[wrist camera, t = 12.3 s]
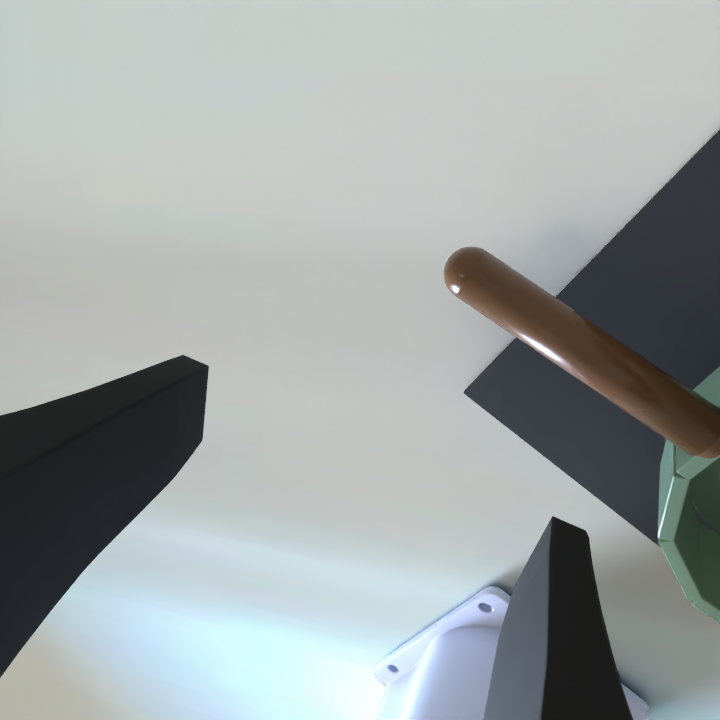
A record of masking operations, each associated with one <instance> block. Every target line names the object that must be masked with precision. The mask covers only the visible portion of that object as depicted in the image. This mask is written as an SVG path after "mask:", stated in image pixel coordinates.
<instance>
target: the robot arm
mask: <svg viewBox="0 0 720 720" xmlns="http://www.w3.org/2000/svg"><path fill="white" fill-rule="evenodd" d="M208 369H209V366H207V365H205V364H203V363H200V362H198V361H196V360H193V359H191V358H189V357H187V356H184V355H182V356H179V357H176V358H173V359H170V360H167V361H164V362H162V363H159V364H156V365H154V366H151V367H148V368H146V369H143V370H140V371H138V372H135V373H132V374H130V375H127V376H124V377H121V378H119V379H116V380H113V381H110V382H108V383H105V384H102V385H99V386H96V387H94V388H91V389H88V390H85V391H82V392H79V393H76V394H73V395H70V396H66V397H63V398H60V399H57V400H54V401H50V402H47V403H44V404H41V405H38V406H35V407H31V408H28V409H24V410H20V411H17V412H13V413H9V414H5V415H1V416H0V677H1V676H2V675H3V673H4V672H5V671H6V669H7V668H8V666H9V665H10V664H11V662H12V661H13V660H14V658H15V657H16V655H17V654H18V653H19V651H20V650H21V649H22V647H23V646H24V645H25V644H26V642H27V641H28V640H29V638H30V637H31V636H32V635H33V633H34V632H35V631H36V629H37V628H38V627H39V625H40V624H41V623H42V622H43V620H44V619H45V618H46V616H47V615H48V614H49V612H50V611H51V610H52V609H53V607H54V606H55V605H56V604H57V603H58V601H59V600H60V599H61V598H62V596H63V595H64V594H65V593H66V591H67V590H68V589H69V588H70V587H71V585H72V584H73V583H74V582H75V580H76V579H77V578H78V577H79V575H80V574H81V573H82V572H83V571H84V570H85V569H86V567H87V566H88V565H89V564H90V563H91V562H92V561H93V560H94V559H95V558H96V556H97V555H98V554H99V553H100V552H101V551H102V550H103V549H104V548H105V547H106V546H107V545H108V544H109V543H110V542H111V541H112V540H113V539H114V538H115V537H116V536H117V535H118V534H119V533H120V532H121V531H122V530H123V529H124V528H125V527H126V526H127V525H128V524H129V523H130V522H131V521H132V520H133V519H134V518H135V517H136V516H137V515H138V514H139V513H140V512H141V511H142V510H143V509H144V508H145V507H146V506H147V505H148V504H149V503H150V502H151V501H152V500H153V499H154V498H155V497H156V496H157V495H158V494H159V493H160V492H161V491H162V490H163V489H164V488H165V487H166V486H167V485H168V484H169V483H170V481H171V480H172V479H173V478H174V477H175V476H176V475H177V473H178V472H179V471H180V469H181V468H182V467H183V466H184V464H185V463H186V462H187V460H188V459H189V458H190V456H191V455H192V454H193V452H194V451H195V450H196V448H197V447H198V445H199V444H200V443H201V441H202V438H203V427H204V415H205V403H206V392H207V380H208ZM485 603H487V604H485ZM488 604H489V605H488ZM373 674H374V676H375V678H376V679H377V680H379V681H380V682H381V683H383V684H384V685H385V686H386V687H387V689H386V691H385V694H384V696H383V699H382V701H381V704H380V706H379V709H378V711H377V714H376V716H375V719H374V720H647V719H648V718H649V706H648V704H647V703H646V702H645V701H644V700H642V699H641V698H640V697H638V696H637V695H636V694H635V693H633V692H632V691H631V690H630V689H628V688H627V687H626V686H624V685H623V684H622V683H621V681H620V677H619V674H618V671H617V668H616V664H615V661H614V657H613V653H612V650H611V646H610V642H609V638H608V634H607V630H606V626H605V622H604V618H603V614H602V610H601V605H600V601H599V596H598V591H597V586H596V581H595V575H594V570H593V564H592V557H591V550H590V543H589V537H588V535H587V532H586V531H585V530H583V529H581V528H578V527H576V526H574V525H571V524H569V523H567V522H565V521H562V520H560V519H558V518H555V517H553V516H552V518H551V520H550V522H549V524H548V526H547V527H546V529H545V531H544V533H543V535H542V536H541V538H540V540H539V542H538V544H537V546H536V547H535V549H534V551H533V553H532V555H531V556H530V558H529V560H528V562H527V564H526V566H525V567H524V569H523V571H522V573H521V575H520V576H519V578H518V580H517V582H516V584H515V586H514V589H513V592H512V595H511V596H510V595H508V594H507V593H506V592H505V591H503V590H502V589H500V588H498V587H495V586H489V587H486V588H484V589H483V590H482V591H480V592H479V593H477V594H476V595H474V596H473V597H471V598H470V599H469V600H467V601H466V602H464V603H463V604H461V605H460V606H458V607H457V608H456V609H454V610H453V611H451V612H450V613H448V614H447V615H445V616H444V617H443V618H441V619H440V620H438V621H437V622H435V623H434V624H432V625H431V626H430V627H428V628H427V629H425V630H424V631H422V632H421V633H419V634H418V635H417V636H415V637H414V638H412V639H411V640H409V641H408V642H406V643H405V644H404V645H402V646H401V647H399V648H398V649H396V650H395V651H393V652H392V653H391V654H389V655H388V656H386V657H385V658H383V659H382V660H380V661H379V662H378V663H376V665H375V666H374V669H373Z"/></svg>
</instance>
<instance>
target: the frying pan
mask: <svg viewBox="0 0 720 720" xmlns="http://www.w3.org/2000/svg"><path fill="white" fill-rule="evenodd" d="M444 280H445V283H446V285H447V287H448V289H449V290H450V291H451V292H452V293H453V294H454V295H455V296H456V297H458V298H459V299H461V300H462V301H464V302H465V303H467V304H468V305H470V306H471V307H473V308H474V309H475V310H477V311H478V312H480V313H481V314H483V315H484V316H486V317H487V318H489V319H490V320H492V321H493V322H495V323H496V324H498V325H499V326H501V327H502V328H503V329H505V330H506V331H508V332H509V333H511V334H512V335H514V336H515V337H517V338H518V339H520V340H521V341H523V342H524V343H526V344H527V345H529V346H530V347H531V348H533V349H534V350H536V351H537V352H539V353H540V354H542V355H543V356H545V357H546V358H548V359H549V360H551V361H552V362H554V363H555V364H556V365H558V366H559V367H561V368H562V369H564V370H565V371H567V372H568V373H570V374H571V375H573V376H574V377H576V378H577V379H579V380H580V381H582V382H583V383H584V384H586V385H587V386H589V387H590V388H592V389H593V390H595V391H596V392H598V393H599V394H601V395H602V396H604V397H605V398H607V399H608V400H610V401H611V402H612V403H614V404H615V405H617V406H618V407H620V408H621V409H623V410H624V411H626V412H627V413H629V414H630V415H632V416H633V417H635V418H636V419H638V420H639V421H640V422H642V423H643V424H645V425H646V426H648V427H649V428H651V429H652V430H654V431H655V432H657V433H658V434H660V435H661V436H663V437H664V438H665V439H666V442H665V447H664V451H663V455H662V459H661V464H660V479H659V510H658V538H659V544H660V546H661V548H662V550H663V552H664V554H665V556H666V558H667V560H668V562H669V564H670V566H671V568H672V570H673V572H674V574H675V576H676V578H677V580H678V582H679V584H680V586H681V588H682V590H683V592H684V594H685V596H686V598H687V600H689V601H690V600H691V604H692V605H693V606H695V607H696V608H697V609H699V610H700V611H702V612H703V613H705V614H706V615H708V616H709V617H710V618H712V619H713V620H715V621H716V622H718V623H719V624H720V535H719V534H718V533H716V532H715V531H713V530H712V529H710V528H709V527H707V526H706V525H704V524H703V523H702V522H700V521H699V519H698V517H697V515H696V513H695V511H694V509H693V506H692V504H691V502H690V500H689V498H690V499H691V501H692V503H693V505H694V506H695V508H696V509H697V510H698V511H699V513H700V514H701V515H702V516H703V518H704V519H705V520H706V521H707V522H708V523H709V524H710V525H711V526H712V527H713V528H714V529H715V530H717V531H718V532H719V533H720V366H719V367H718V368H717V369H716V370H715V371H714V372H713V373H712V374H710V375H709V376H708V377H707V378H706V379H705V380H704V381H702V382H701V383H700V384H699V385H698V386H697V387H696V388H695V389H693V390H692V389H690V388H689V387H687V386H686V385H684V384H683V383H681V382H680V381H678V380H677V379H676V378H674V377H673V376H671V375H670V374H668V373H667V372H665V371H664V370H662V369H661V368H659V367H658V366H656V365H655V364H653V363H652V362H650V361H649V360H647V359H646V358H644V357H643V356H641V355H640V354H638V353H637V352H635V351H634V350H632V349H631V348H629V347H628V346H626V345H625V344H624V343H622V342H621V341H619V340H618V339H616V338H615V337H613V336H612V335H610V334H609V333H607V332H606V331H604V330H603V329H601V328H600V327H598V326H597V325H595V324H594V323H592V322H591V321H589V320H588V319H586V318H585V317H583V316H582V315H580V314H579V313H577V312H576V311H575V310H573V309H572V308H570V307H569V306H567V305H566V304H564V303H563V302H561V301H560V300H558V299H557V298H555V297H554V296H552V295H551V294H549V293H548V292H546V291H545V290H543V289H542V288H540V287H539V286H537V285H536V284H534V283H533V282H531V281H530V280H528V279H527V278H525V277H524V276H523V275H521V274H520V273H518V272H517V271H515V270H514V269H512V268H511V267H509V266H508V265H506V264H505V263H503V262H502V261H500V260H499V259H497V258H496V257H494V256H493V255H491V254H490V253H488V252H487V251H485V250H483V249H481V248H478V247H465V248H461V249H459V250H457V251H456V252H455V253H453V254H452V255H451V256H450V258H449V259H448V261H447V262H446V265H445V268H444ZM687 494H688V496H689V498H688V496H687Z"/></svg>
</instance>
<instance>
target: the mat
mask: <svg viewBox="0 0 720 720" xmlns="http://www.w3.org/2000/svg"><path fill="white" fill-rule="evenodd" d="M556 298H557V299H558V300H560V301H561V302H563V303H564V304H566V305H567V306H569V307H570V308H572V309H573V310H575V311H576V312H577V313H579V314H580V315H582V316H583V317H585V318H586V319H588V320H589V321H591V322H592V323H594V324H595V325H597V326H598V327H600V328H601V329H603V330H604V331H606V332H607V333H609V334H610V335H612V336H613V337H615V338H616V339H618V340H619V341H621V342H622V343H624V344H625V345H626V346H628V347H629V348H631V349H632V350H634V351H635V352H637V353H638V354H640V355H641V356H643V357H644V358H646V359H647V360H649V361H650V362H652V363H653V364H655V365H656V366H658V367H659V368H661V369H662V370H664V371H665V372H667V373H668V374H670V375H671V376H673V377H674V378H676V379H677V380H678V381H680V382H681V383H683V384H684V385H686V386H687V387H689V388H690V389H692V390H693V389H695V388H696V387H697V386H698V385H699V384H700V383H701V382H702V381H704V380H705V379H706V378H707V377H708V376H709V375H710V374H712V373H713V372H714V371H715V370H716V369H717V368H718V367H719V366H720V130H719V131H718V132H717V133H716V134H715V135H714V136H713V137H712V138H711V139H710V140H709V141H708V142H707V143H706V144H705V145H704V146H703V147H702V148H701V149H700V150H699V151H698V152H697V153H696V154H695V155H694V156H693V157H692V158H691V159H690V161H689V162H688V163H687V164H686V165H685V166H684V167H683V168H682V169H681V170H680V171H679V172H678V173H677V174H676V175H675V176H674V177H673V178H672V179H671V180H670V181H669V182H668V183H667V184H666V185H665V186H664V187H663V188H662V189H661V190H660V191H659V192H658V193H657V194H656V195H655V196H654V197H653V198H652V199H651V200H650V201H649V202H648V203H647V204H646V206H645V207H644V208H643V209H642V210H641V211H640V212H639V213H638V214H637V215H636V216H635V217H634V218H633V219H632V220H631V221H630V222H629V223H628V224H627V225H626V226H625V227H624V228H623V229H622V230H621V231H620V232H619V233H618V234H617V235H616V236H615V237H614V238H613V239H612V240H611V241H610V242H609V243H608V244H607V245H606V246H605V247H604V248H603V250H602V251H601V252H600V253H599V254H598V255H597V256H596V257H595V258H594V259H593V260H592V261H591V262H590V263H589V264H588V265H587V266H586V267H585V268H584V269H583V270H582V271H581V272H580V273H579V274H578V275H577V276H576V277H575V278H574V279H573V280H572V281H571V282H570V283H569V284H568V285H567V286H566V287H565V288H564V289H563V290H562V291H561V292H560V293H559V295H558V296H557V297H556ZM464 394H465V395H467V396H468V397H469V398H471V399H472V400H473V401H474V402H476V403H477V404H478V405H480V406H481V407H482V408H483V409H485V410H486V411H487V412H488V413H490V414H491V415H492V416H494V417H495V418H496V419H497V420H499V421H500V422H501V423H502V424H504V425H505V426H506V427H508V428H509V429H510V430H511V431H513V432H514V433H515V434H517V435H518V436H519V437H520V438H522V439H523V440H524V441H525V442H527V443H528V444H529V445H531V446H532V447H533V448H534V449H536V450H537V451H538V452H540V453H541V454H542V455H543V456H545V457H546V458H547V459H548V460H550V461H551V462H552V463H554V464H555V465H556V466H557V467H559V468H560V469H561V470H562V471H564V472H565V473H566V474H568V475H569V476H570V477H571V478H573V479H574V480H575V481H577V482H578V483H579V484H580V485H582V486H583V487H584V488H585V489H587V490H588V491H589V492H591V493H592V494H593V495H594V496H596V497H597V498H598V499H599V500H601V501H602V502H603V503H605V504H606V505H607V506H608V507H610V508H611V509H612V510H614V511H615V512H616V513H617V514H619V515H620V516H621V517H622V518H624V519H625V520H626V521H628V522H629V523H630V524H631V525H633V526H634V527H635V528H637V529H638V530H639V531H640V532H642V533H643V534H644V535H645V536H647V537H648V538H649V539H651V540H652V541H653V542H654V543H656V544H657V545H658V546H659V547H661V546H660V544H659V538H658V510H659V479H660V464H661V459H662V455H663V451H664V447H665V442H666V439H665V438H664V437H663V436H661V435H660V434H658V433H657V432H655V431H654V430H652V429H651V428H649V427H648V426H646V425H645V424H643V423H642V422H640V421H639V420H638V419H636V418H635V417H633V416H632V415H630V414H629V413H627V412H626V411H624V410H623V409H621V408H620V407H618V406H617V405H615V404H614V403H612V402H611V401H610V400H608V399H607V398H605V397H604V396H602V395H601V394H599V393H598V392H596V391H595V390H593V389H592V388H590V387H589V386H587V385H586V384H584V383H583V382H582V381H580V380H579V379H577V378H576V377H574V376H573V375H571V374H570V373H568V372H567V371H565V370H564V369H562V368H561V367H559V366H558V365H556V364H555V363H554V362H552V361H551V360H549V359H548V358H546V357H545V356H543V355H542V354H540V353H539V352H537V351H536V350H534V349H533V348H531V347H530V346H529V345H527V344H526V343H524V342H523V341H521V340H520V339H518V338H517V337H516V339H515V340H514V341H513V342H512V343H511V344H510V345H509V346H508V347H507V348H506V349H505V350H504V351H503V352H502V353H501V354H500V355H499V356H498V357H497V358H496V359H495V360H494V361H493V362H492V363H491V364H490V365H489V366H488V367H487V368H486V369H485V370H484V371H483V372H482V373H481V374H480V375H479V376H478V377H477V378H476V379H475V380H474V381H473V382H472V384H471V385H470V386H469V387H468V388H467V389H466V390H465V391H464ZM687 496H688V494H687ZM688 498H689V496H688ZM689 500H690V502H691V504H692V506H693V509H694V511H695V513H696V515H697V517H698V519H699V521H700V522H702V523H703V524H704V525H706V526H707V527H709V528H710V529H712V530H713V531H715V532H716V533H718V534H719V535H720V533H719V532H718V531H717V530H715V529H714V528H713V527H712V526H711V525H710V524H709V523H708V522H707V521H706V520H705V519H704V518H703V516H702V515H701V514H700V513H699V511H698V510H697V509H696V508H695V506H694V505H693V503H692V501H691V499H690V498H689Z"/></svg>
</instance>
